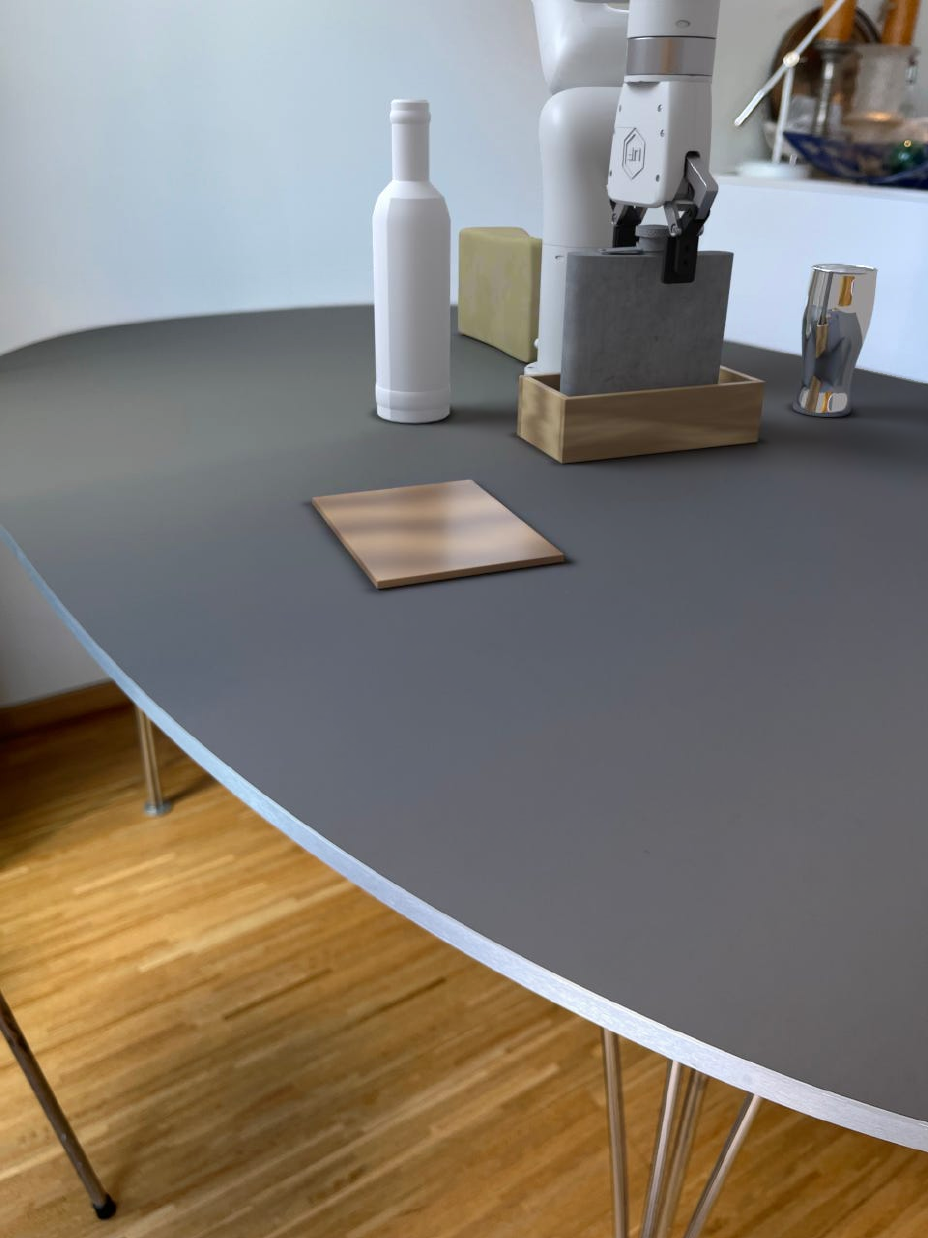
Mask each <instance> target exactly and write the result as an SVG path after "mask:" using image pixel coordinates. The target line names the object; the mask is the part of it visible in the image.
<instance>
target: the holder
mask: <svg viewBox="0 0 928 1238" xmlns="http://www.w3.org/2000/svg"><path fill="white" fill-rule="evenodd" d="M560 378H561V372H556V373H543V374H531V375H524V374H521V375H519V377H518V379H519V380H518V400H517V401H518V402H517V427H516V429H517V430H516V432H517V433H516V435H517V436H518V437H520V438H521V439H522V440H524V441H526V442H527V443H529V444H531V445H532V446H534V447H535V448H537V449H538V450H540V451H541V452H543V453H544V454H546V455H548V456H549V457H551V458H552V459H554V460H555V461H557V462H558V463H560V464H572V463H582V462H590V461H598V460H608V459H617V458H626V457H635V456H644V455H651V454H652V455H653V454H662V453H671V452H680V451H688V450H696V449H697V450H698V449H704V448H705V449H706V448H714V447H715V448H717V447H724V446H732V445H733V446H734V445H742V444H750V443H757V442H758V439H759V431H760V425H761V418H762V412H763V411H762V409H763V403H764V398H765V397H764V396H765V391H766V390H765V389H766V383H767V382H766V381H764V380H762V379H759V378H756V377H754V376H751V375H749V374H746V373H743V372H741V371H737V370H735V369H732V368H729V367H726V366H723V365H721V364H720V373H719V381H718V384H710V385H699V386H688V387H676V388H665V389H654V390H642V391H631V392H619V393H608V394H597V395H585V396H574V397H568V396H566V395H564V394H562V393H560Z"/></svg>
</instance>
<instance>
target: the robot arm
mask: <svg viewBox="0 0 928 1238" xmlns="http://www.w3.org/2000/svg"><path fill="white" fill-rule="evenodd" d="M530 2H531V3H532V7H533V12H534V21H535V27H536V28H535V29H536V35H537V41H538V49H539V55H540V61H541V62H540V63H541V69H542V73H543V79H544V82H545V85H546V87H547V90H548V91H549V92H550V94H551V95H552V96H551V97H550V98H548V100H547V101H546V103H545V104H544V106H543V108H542V110H541V113H540V116H539V122H538V144H539V154H540V164H541V174H542V175H541V177H542V191H543V192H542V194H543V195H542V196H543V197H542V198H543V201H542V203H543V208H542V209H543V211H542V212H543V213H542V214H543V216H542V217H543V218H542V240H543V241H542V265H541V288H540V312H539V335H538V339H536V340H535V343H534V345H535V347H536V348H537V349H538V358H537V362H534V363H527V365H526V366H525V367H524V369H523V375H531V374H543V373H556V372H561V360H562V341H563V322H564V304H565V285H566V266H567V253H568V252H579V251H583V252H600V251H598V249H607V248H623V247H636V242H638V241H639V238H640V236H636V235H635V234H636V226H639V225H642V222H643V220H644V218H645V216H646V213H647V211H648V209H659V208H661V207H663V211H664V215H665V220H666V223H667V226H668V227H669V231H670V234H671V236H665V239H664V250H663V261H662V272H661V282H662V283H665V284H679V283H692V282H693V281H694V279H695V271H696V262H697V252H698V251H699V243H700V241H699V240H700V236H702V235H703V234H704V230H705V223H706V222H707V221H708V220H709V218H710V215H711V209H712V207H713V205H714V202H715V199H717V195H718V194H719V189H720V188H719V184H718V183H717V181H716V180H715V178H714V177H713V175H712V174H711V173H710V163H711V148H712V147H711V145H712V127H713V126H712V124H713V122H712V121H713V103H712V102H713V99H712V84H713V78H714V77H713V76H714V70H715V69H714V68H715V66H714V65H715V59H716V48H717V37H718V28H719V17H720V8H721V0H530ZM609 4H620V5H621V4H625V5H626V4H627V5H628V4H629V5H628V10H627V9H618V8H614V7H611V6H610V5H609ZM679 212H683V213H682V215H681V217H680V213H679ZM635 252H638V251H635Z"/></svg>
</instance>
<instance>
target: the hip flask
mask: <svg viewBox="0 0 928 1238" xmlns="http://www.w3.org/2000/svg"><path fill="white" fill-rule="evenodd" d="M635 235H636V236H640V238H639V241H638V242H636V247H623V248H607V249H598V251H600V252H583V251H579V252H568V253H567V266H566V285H565V304H564V322H563V341H562V360H561V378H560V393H562V394H564V395H566V396H568V397H574V396H585V395H597V394H608V393H619V392H631V391H642V390H654V389H665V388H676V387H688V386H699V385H710V384H718V381H719V373H720V365H721V363H722V356H723V347H724V339H725V331H726V322H727V314H728V307H729V298H730V291H731V290H730V289H731V281H732V275H733V272H732V271H733V264H734V255H735V253H734V252H732V251H727V250H698V252H697V262H696V271H695V279H694V281H693V282H692V283H679V284H665V283H662V282H661V272H662V261H663V250H664V239H665V236H671V234H670V231H669V227H668V224H667V225H666V224H640V225H639V226H636V234H635ZM635 251H638V252H635Z"/></svg>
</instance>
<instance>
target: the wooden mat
mask: <svg viewBox="0 0 928 1238" xmlns="http://www.w3.org/2000/svg"><path fill="white" fill-rule="evenodd" d="M311 504H312V505H313V506H314V508H315V509H316V511H317V512H318V513H319V514H320V516H321V517H322V518H323V520H324V521H325V523H326V524H327V525H328V526H329V527H330V529H331V530H332V532H333V533H334V534H335V535H336V537H337V538H338V539H339V541H340V542H341V543H342V545H343V546H344V547H345V549H346V550H347V551H348V552H349V554H350V555H351V556H352V558H353V559H354V560H355V561H356V563H357V564H358V565H359V567H360V568H361V570H362V571H363V572H364V573H365V575H366V576H367V577H368V578H369V580H370V581H371V582H372V584H373V585H374V586H375V588H376V589H377V590H382V589H388V588H395V587H401V586H408V585H415V584H421V583H430V582H435V581H442V580H449V579H457V578H463V577H469V576H477V575H483V574H484V575H485V574H489V573H496V572H503V571H509V570H516V569H517V570H519V569H525V568H530V567H531V568H532V567H537V566H544V565H550V564H558V563H564V562H565V554H564V553H563V552H562V551H561V550H559V549H558V548H557V547H556V546H555V545H553V544H552V543H551V542H549V541H548V540H547V539H546V538H544V537H543V536H542V535H541V534H539V533H538V532H537V531H536V530H535V529H533V528H532V527H531V526H530V525H529V524H527V523H526V522H524V521H523V520H522V519H521V518H519V516H517V515H516V514H515V513H513V512H512V511H511V510H509V508H507V507H506V506H504V505H503V504H502V503H501V502H500V501H499V500H497V499H496V498H495V497H493V496H492V495H491V494H490V493H489V492H487V491H486V490H485V489H484V488H482V487H481V486H480V485H478V484H477V483H476V482H474V480H472V479H462V480H453V481H445V482H434V483H427V484H419V485H417V484H416V485H410V486H401V487H400V486H399V487H393V488H383V489H377V490H376V489H375V490H374V489H373V490H365V491H357V492H356V491H355V492H347V493H340V494H339V493H338V494H330V495H321V496H313V497H312V498H311Z"/></svg>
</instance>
